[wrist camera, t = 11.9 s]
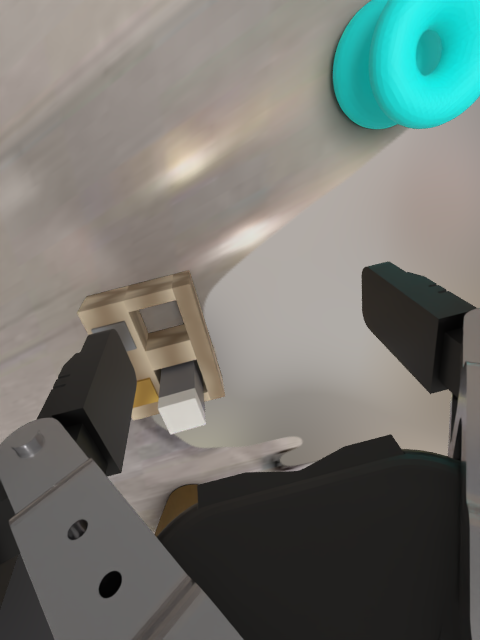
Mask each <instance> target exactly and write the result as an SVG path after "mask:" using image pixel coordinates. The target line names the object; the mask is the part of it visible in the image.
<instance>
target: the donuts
mask: <svg viewBox="0 0 480 640" xmlns="http://www.w3.org/2000/svg"><path fill="white" fill-rule="evenodd" d="M333 85H334V91H335V95H336V98H337V101H338V103H339V105H340V107H341V109H342V110H343V112H344V113H345V114H346V115H347V117H348V118H350V119H351V120H352V121H353V122H354V123H356V124H358V125H360V126H362V127H365V128H369V129H385V128H389V127H392V126H395V125H397V124H400V125H402V126H404V127H408V128H413V129H425V128H432V127H436V126H439V125H442V124H444V123H446V122H448V121H450V120H452V119H454V118H456V117H457V116H459V115H460V114H461V113H463V112H464V111H465V110H466V109H468V108H469V107H470V106H471V105H472V104H473V103H474V102H475V101H476V100H477V99H478V97H479V96H480V0H371V1H370V2H369V3H367V4H366V5H365V6H363V7H362V8H361V9H360V10H359V11H358V12H357V13H356V14H355V16H354V17H353V18H352V19H351V21H350V22H349V24H348V25H347V27H346V29H345V30H344V32H343V34H342V36H341V39H340V41H339V44H338V46H337V50H336V53H335V58H334V64H333Z"/></svg>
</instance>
